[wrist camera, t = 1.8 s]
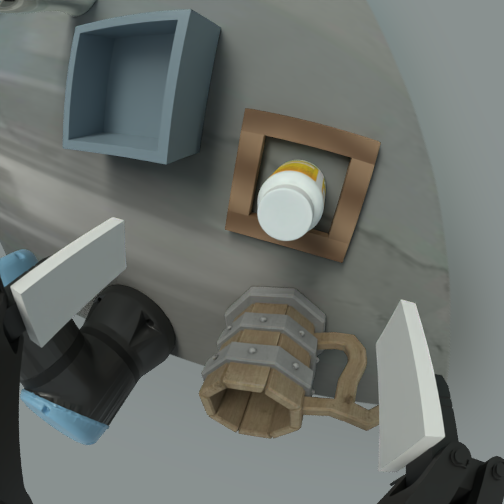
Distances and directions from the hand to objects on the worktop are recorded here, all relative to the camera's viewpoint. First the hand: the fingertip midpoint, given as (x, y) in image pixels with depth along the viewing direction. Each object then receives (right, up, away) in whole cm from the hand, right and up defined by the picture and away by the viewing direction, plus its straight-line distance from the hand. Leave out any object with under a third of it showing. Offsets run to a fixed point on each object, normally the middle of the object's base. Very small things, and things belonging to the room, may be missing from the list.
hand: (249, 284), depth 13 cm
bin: (-11, +20, +15) cm, 27 cm away
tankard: (+7, -8, +24) cm, 27 cm away
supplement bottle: (+5, +8, +16) cm, 19 cm away
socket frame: (+5, +8, +16) cm, 19 cm away
